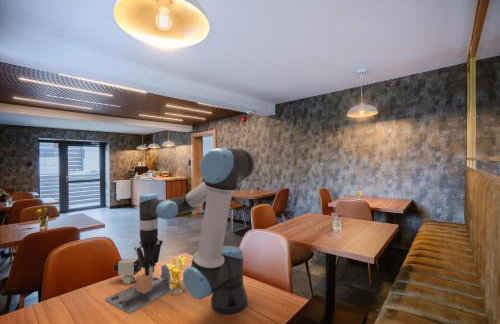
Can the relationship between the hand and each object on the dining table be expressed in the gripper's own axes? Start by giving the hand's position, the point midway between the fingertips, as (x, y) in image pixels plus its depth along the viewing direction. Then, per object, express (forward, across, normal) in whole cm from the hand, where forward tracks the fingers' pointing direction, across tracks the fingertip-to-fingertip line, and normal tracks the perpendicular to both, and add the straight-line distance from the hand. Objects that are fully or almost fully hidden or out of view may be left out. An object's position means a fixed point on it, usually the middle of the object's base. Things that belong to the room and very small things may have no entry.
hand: (149, 280), depth 110 cm
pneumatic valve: (+6, -2, -19) cm, 20 cm away
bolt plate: (+6, +1, -3) cm, 7 cm away
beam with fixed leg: (+5, +1, -1) cm, 5 cm away
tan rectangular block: (+5, +3, 0) cm, 6 cm away
